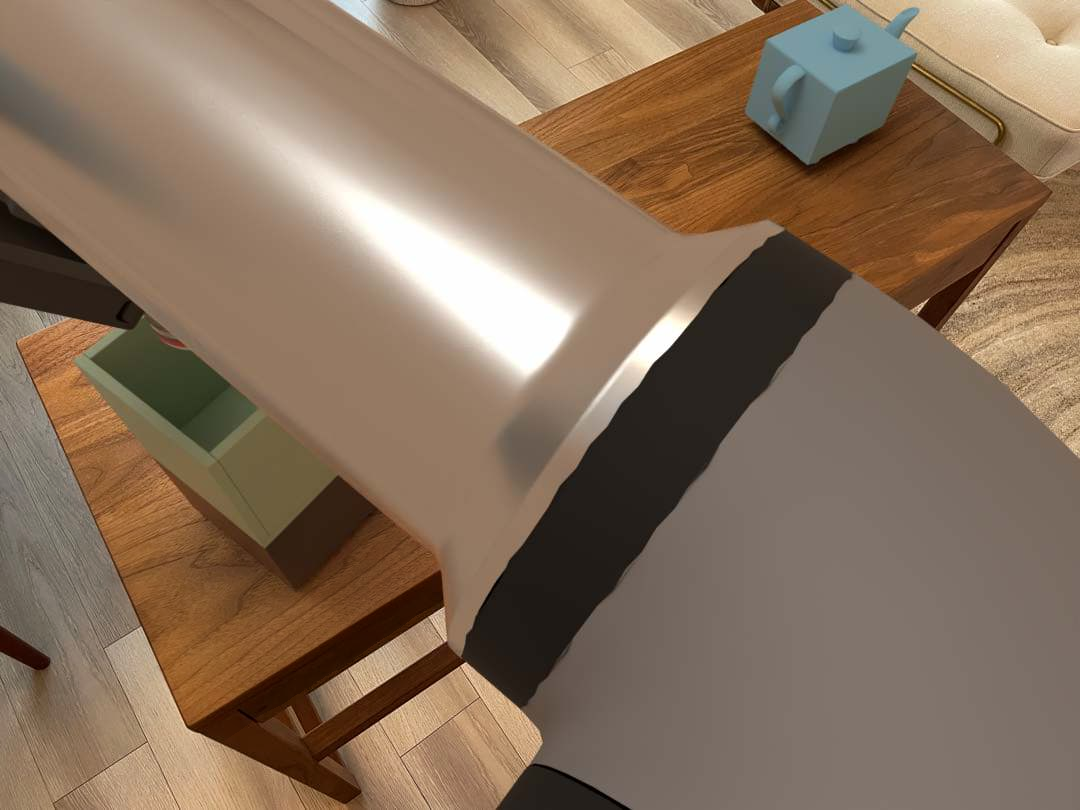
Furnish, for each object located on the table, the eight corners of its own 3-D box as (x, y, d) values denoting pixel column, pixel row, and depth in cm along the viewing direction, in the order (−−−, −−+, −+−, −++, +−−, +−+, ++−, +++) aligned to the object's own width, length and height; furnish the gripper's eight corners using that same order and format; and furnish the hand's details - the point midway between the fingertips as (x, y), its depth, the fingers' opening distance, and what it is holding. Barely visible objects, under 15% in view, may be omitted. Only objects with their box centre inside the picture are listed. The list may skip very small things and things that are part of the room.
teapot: (786, 185, 95) (825, 85, 83) (724, 132, 100) (752, 30, 88) (910, 119, 102) (962, 18, 90) (847, 73, 107) (888, -29, 95)
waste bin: (296, 592, 68) (207, 469, 48) (193, 506, 71) (71, 360, 52) (399, 482, 73) (357, 332, 54) (298, 408, 77) (225, 243, 57)
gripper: (-318, 47, 36) (179, 206, 54) (-346, 356, 27) (256, 421, 45) (-281, -102, 33) (233, 120, 51) (-300, 194, 24) (327, 334, 42)
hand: (243, 262), depth 48 cm, fingers closed on pill bottle, 6 cm apart
